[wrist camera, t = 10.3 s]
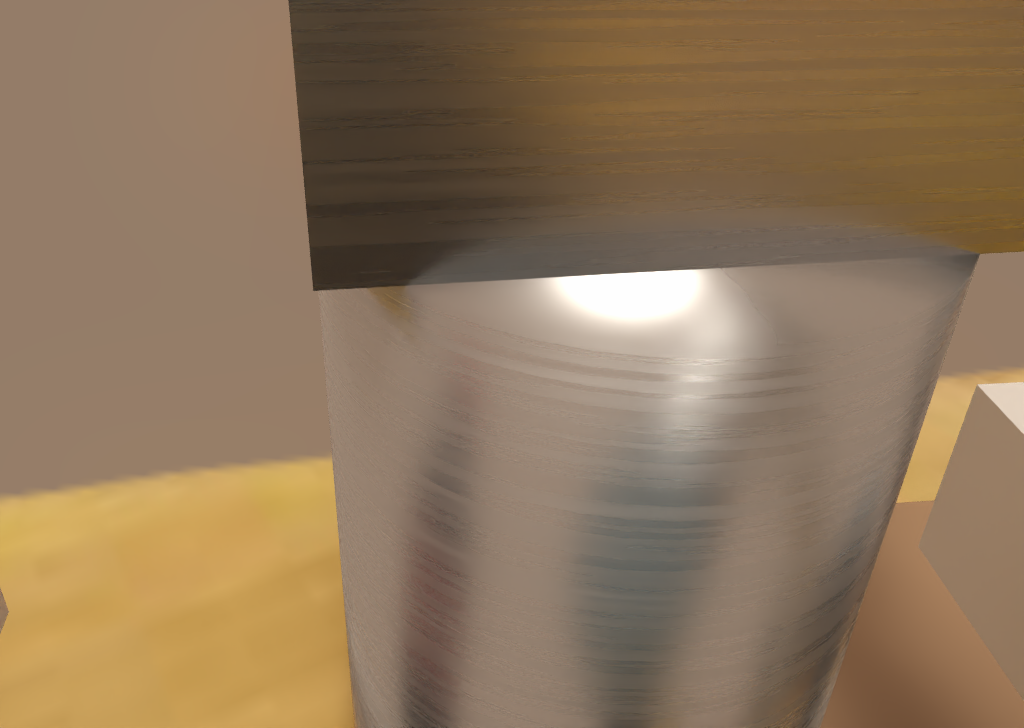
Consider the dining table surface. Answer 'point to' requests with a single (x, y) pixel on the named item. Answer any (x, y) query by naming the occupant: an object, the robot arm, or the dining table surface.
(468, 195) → the hinged leg
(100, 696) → the dining table surface
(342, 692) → the dining table surface
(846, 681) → the wooden base with rods
